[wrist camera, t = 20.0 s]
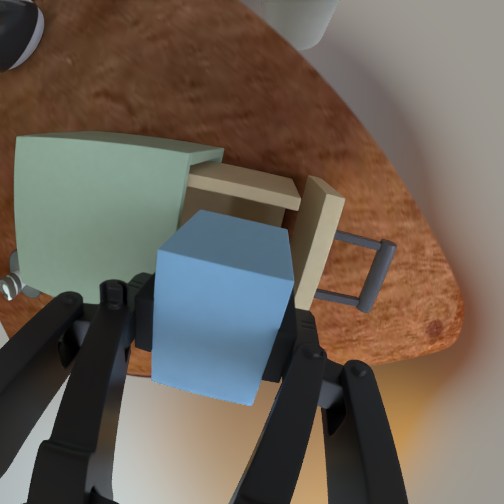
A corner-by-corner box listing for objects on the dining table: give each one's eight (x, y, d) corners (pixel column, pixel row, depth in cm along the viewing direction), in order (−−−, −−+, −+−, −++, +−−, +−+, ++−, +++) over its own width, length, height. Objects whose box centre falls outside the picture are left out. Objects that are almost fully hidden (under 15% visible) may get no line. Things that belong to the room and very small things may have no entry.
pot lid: (16, 221, 30) (-7, 232, 26) (64, 287, 33) (43, 305, 29) (-5, 266, 34) (-24, 278, 29) (36, 322, 37) (19, 338, 32)
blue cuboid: (200, 209, 16) (157, 249, 10) (287, 229, 16) (294, 281, 10) (185, 312, 19) (151, 381, 13) (259, 330, 19) (251, 406, 13)
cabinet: (224, 148, 26) (189, 153, 15) (202, 269, 31) (166, 336, 20) (93, 130, 26) (16, 136, 15) (86, 239, 30) (21, 282, 20)
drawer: (381, 196, 25) (430, 225, 16) (345, 300, 30) (367, 362, 20) (176, 146, 25) (126, 152, 16) (160, 258, 29) (117, 307, 20)
